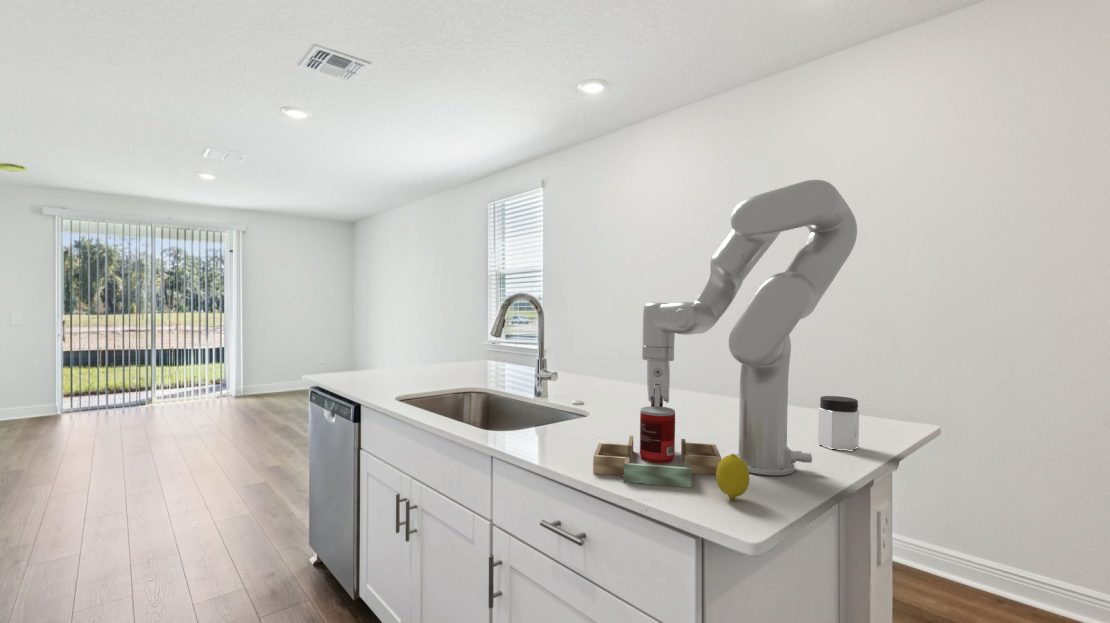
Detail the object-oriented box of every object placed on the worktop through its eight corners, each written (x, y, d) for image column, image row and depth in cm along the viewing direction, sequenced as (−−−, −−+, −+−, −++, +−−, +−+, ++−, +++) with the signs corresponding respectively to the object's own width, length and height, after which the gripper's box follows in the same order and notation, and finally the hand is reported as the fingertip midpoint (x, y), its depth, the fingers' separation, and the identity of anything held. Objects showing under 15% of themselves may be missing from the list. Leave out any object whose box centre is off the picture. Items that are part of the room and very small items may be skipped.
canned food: (672, 454, 118) (672, 406, 117) (676, 464, 110) (677, 413, 110) (638, 452, 118) (639, 405, 118) (640, 463, 110) (641, 412, 110)
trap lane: (713, 456, 116) (713, 440, 116) (727, 490, 94) (727, 471, 94) (602, 448, 121) (602, 433, 121) (590, 479, 99) (590, 461, 99)
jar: (850, 453, 120) (851, 403, 120) (814, 446, 126) (814, 398, 126) (862, 447, 126) (862, 398, 126) (826, 440, 132) (827, 394, 132)
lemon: (733, 507, 86) (733, 459, 86) (709, 496, 91) (709, 451, 91) (756, 501, 89) (756, 456, 89) (731, 491, 94) (732, 448, 94)
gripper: (675, 357, 115) (673, 438, 115) (673, 351, 129) (671, 423, 129) (641, 356, 116) (639, 436, 116) (643, 350, 131) (641, 421, 131)
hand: (656, 429), depth 123 cm, fingers closed
